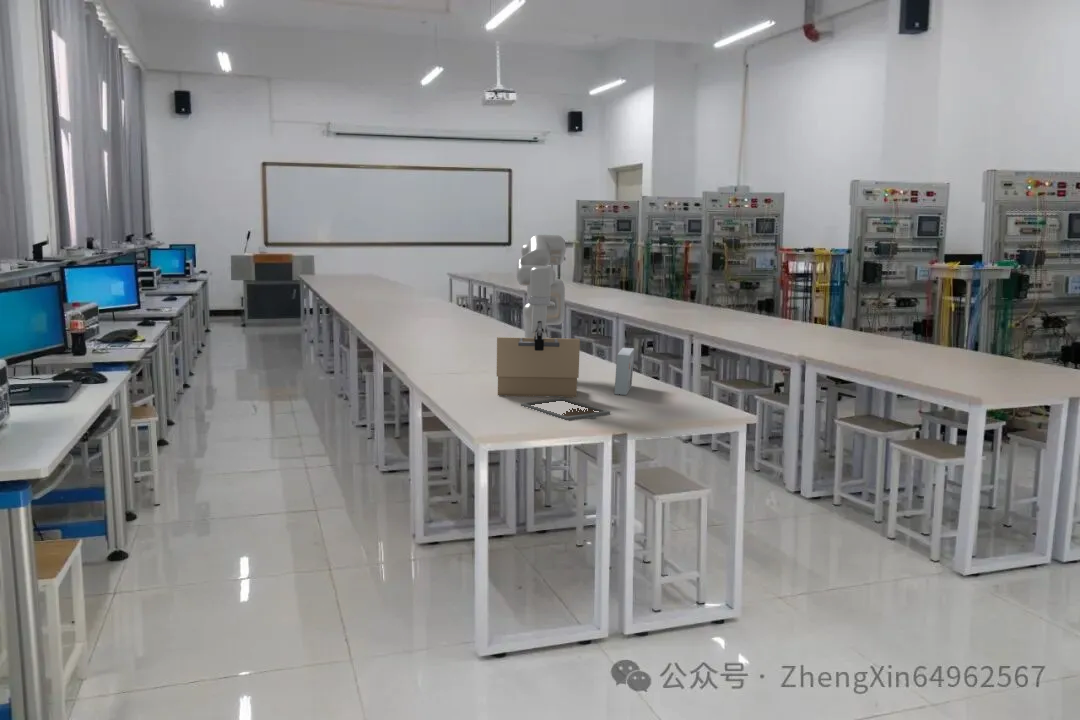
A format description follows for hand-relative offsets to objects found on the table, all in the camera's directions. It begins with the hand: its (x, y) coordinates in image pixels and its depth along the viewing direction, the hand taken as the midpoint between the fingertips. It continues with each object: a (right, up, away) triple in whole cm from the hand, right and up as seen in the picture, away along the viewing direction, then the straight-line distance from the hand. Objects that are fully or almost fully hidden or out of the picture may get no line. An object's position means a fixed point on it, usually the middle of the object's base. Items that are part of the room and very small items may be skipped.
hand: (538, 348), depth 313 cm
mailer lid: (0, -3, +9) cm, 10 cm away
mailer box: (-1, -17, +19) cm, 26 cm away
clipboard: (+10, -23, -10) cm, 27 cm away
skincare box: (+34, -16, +29) cm, 48 cm away
